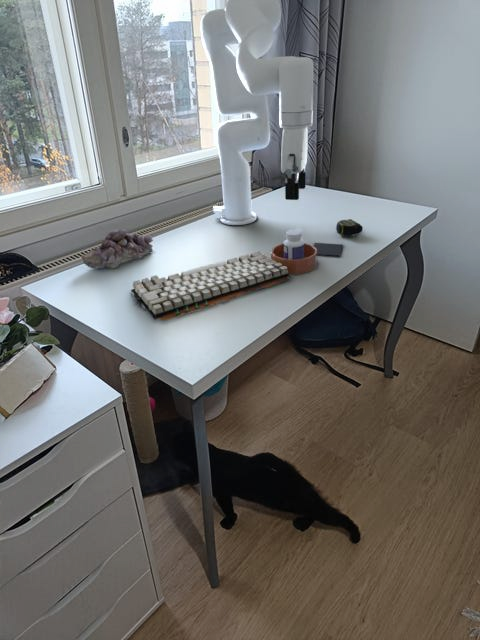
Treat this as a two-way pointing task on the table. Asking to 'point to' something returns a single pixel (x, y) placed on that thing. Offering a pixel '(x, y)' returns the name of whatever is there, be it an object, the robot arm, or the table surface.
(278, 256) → the bowl
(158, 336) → the table surface
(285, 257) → the pill bottle
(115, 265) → the mineral specimen
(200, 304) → the mechanical keyboard
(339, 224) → the tape measure
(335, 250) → the coaster
